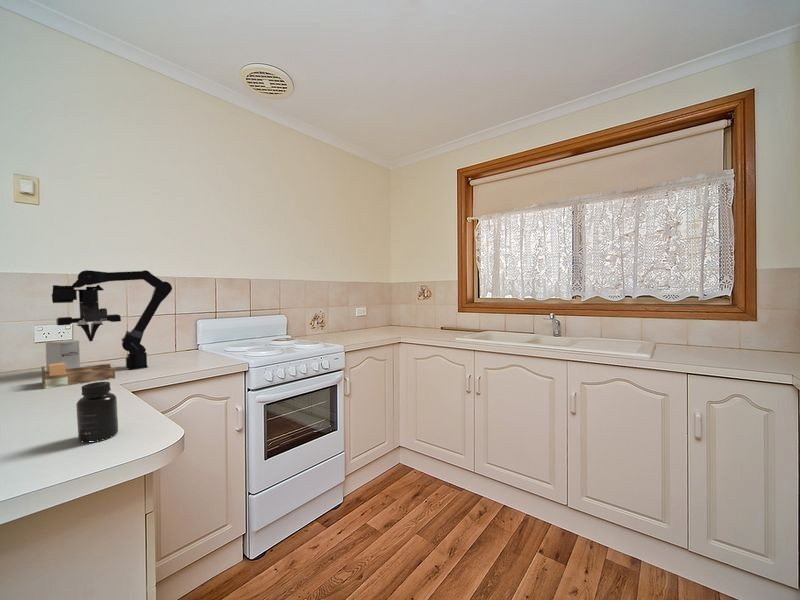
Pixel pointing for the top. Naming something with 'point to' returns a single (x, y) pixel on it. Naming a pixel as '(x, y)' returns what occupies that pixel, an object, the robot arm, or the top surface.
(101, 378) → the brown flat box
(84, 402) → the supplement bottle
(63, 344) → the supplement box
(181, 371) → the top surface
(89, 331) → the robot arm
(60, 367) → the block
